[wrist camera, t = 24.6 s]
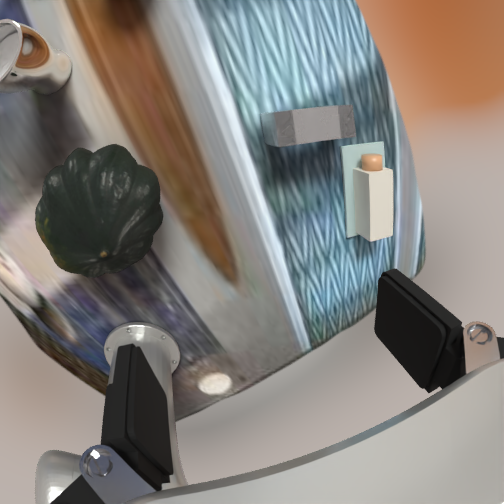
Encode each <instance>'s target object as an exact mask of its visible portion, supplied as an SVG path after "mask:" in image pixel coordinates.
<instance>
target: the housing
mask: <svg viewBox="0 0 504 504" xmlns="http://www.w3.org/2000/svg"><path fill="white" fill-rule="evenodd" d="M260 117H261V123H262V129H263V135H264V141H265V144H269V145H272V146H276V147H285V146H291V145H297V144H304V143H310V142H317V141H324V140H332V139H340V138H348V137H356V132H355V123H354V114H353V106H352V105H330V106H318V107H315V108H305V109H296V110H287V111H274V112H267V113H260Z"/></svg>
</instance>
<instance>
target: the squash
mask: <svg viewBox="0 0 504 504" xmlns="http://www.w3.org/2000/svg"><path fill="white" fill-rule="evenodd" d="M42 193H43V196H42V198H41V199H40V201H39V203H38V205H37V207H36V212H35V214H36V217H35V221H36V229H37V232H38V234H39V236H40V238H41V240H42V241H43V243H44V244H45V245H46V247H47V249H48V250H49V251H50V254H51V256H52V258H53V259H54V261H55V263H56V264H57V266H58V267H60V268H61V269H63V270H65V271H67V272H70V273H76V274H82V275H84V276H86V277H93V278H95V277H99V276H101V275H103V274H104V273H117V272H120V271H121V270H123V269H125V268H127V267H128V266H129V265H131V264H134V263H135V262H137V261H139V260H140V259H142V258H143V257H144V256H145V254H146V253H147V252H148V251H149V249H150V247H151V245H152V242H153V235H154V234H155V232H156V231H157V230H158V228H159V227H160V226H161V224H162V220H163V212H162V209H161V206H160V204H159V202H160V186H159V182H158V178H157V176H156V174H155V173H154V172H153V171H152V170H151V169H149V168H147V167H145V166H142V165H138V164H137V162H136V160H135V159H134V158H133V157H132V155H131V154H130V152H129V151H128V150H127V149H126V148H124V147H123V146H120V145H117V144H111V145H108V146H105V147H103V148H101V149H99V150H97V151H96V152H94V153H92V152H91V151H89V150H87V149H84V148H77V149H76V150H74V151H73V152H72V153H71V154H70V155H69V156H68V158H67V160H66V161H65V163H64V165H60V166H57V167H55V168H54V169H52V170H51V171H50V172H49V173H48V175H47V176H46V178H45V181H44V185H43V191H42Z"/></svg>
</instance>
